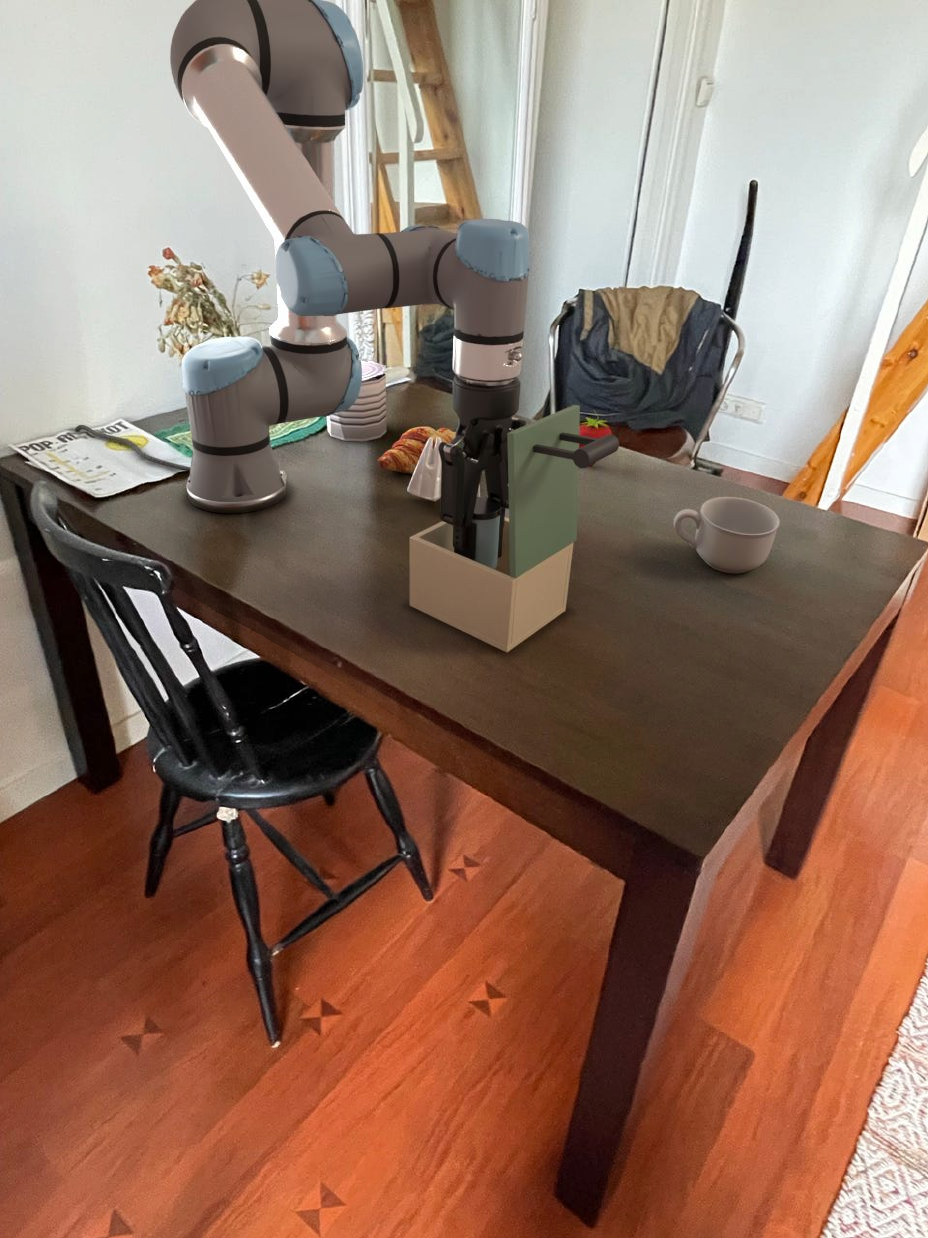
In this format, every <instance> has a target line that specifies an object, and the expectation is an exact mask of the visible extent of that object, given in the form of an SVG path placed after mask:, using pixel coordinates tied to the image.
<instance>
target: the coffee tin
mask: <svg viewBox="0 0 928 1238" xmlns="http://www.w3.org/2000/svg"><path fill="white" fill-rule="evenodd" d="M500 514H501V504H500V503H499V502H498V501H497V500H494V499H492V498H488V496H487V497H486V496H480V497H477V499H476V504H475V509H474V514H473V519H472V523H474V524H477V527H476V548H475V562H478V563H480V564H483V565H485V566H487V567H490V568H492V569H495V568H496V566H497V559H498V542H499V525H500Z"/></svg>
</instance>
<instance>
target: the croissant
mask: <svg viewBox="0 0 928 1238" xmlns="http://www.w3.org/2000/svg"><path fill="white" fill-rule="evenodd" d="M455 433H456V431H452V430H451V429H449V428H447V427H440V428H439V429H437V430H436V429H434V428H432V427H430V426H417V427H412V428H410V429H408V430H406V431H405V432H404V433H402V435H401V436H400V438H399V440H397V441H395V442H394V443H393V445H392V447H391V449H388V450H387V451H385V452H384V453H383V454H382V455H381V457H379V458H378V459H377V463H378V466H379V467H380V468H381V469H384V470H387V471H390V472H398V473H403V474H412V475H413V474H414V471H415V469H416V466H417V464H418V461H419V459H420V457H421V454H422V452H423V449H424V447H425V445H426V443H427V441H428V439H429V438H430V437H432V438H433V446H432V448H433V449H434V447H435V443H436V438H437V437H440V438H441V442H446V443H449V442H450V441H452V440H453V439H454V438H455V437H456V435H455Z"/></svg>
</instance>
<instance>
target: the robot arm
mask: <svg viewBox="0 0 928 1238" xmlns="http://www.w3.org/2000/svg"><path fill="white" fill-rule="evenodd" d="M169 53H170V54H169V55H170V56H169V57H170V58H169V59H170V70H171V75H172V79H173V84H174V86H175V88H176V91H177V94H178V95H179V98H180V99H181V101H182V103H183V105H184V106H185V108H186V110H187V111H188V113H189V115H191V116H192V118H193V119H194V120H196V121H197V122H198V123H199V124H200V125H203V126H204V127H207V129H209V131H210V133H211V134H212V136H213V138H214V140H215V141H216V143H217V144H218V147H219V148H220V150H221V151H222V153H223V155H224V156H225V158H226V160H227V161H228V164H229V165H230V166H231V168H232V170H233V172H234V173H235V175H236V177H237V178H238V180H239V182H240V183H241V185H242V187H243V189H244V190H245V192H246V193H247V195H248V197H249V199H250V200H251V202H252V203H253V205H254V207H255V209H256V210H257V212H258V213H259V216H260V217H261V219H262V220H263V222H264V224H265V226H266V228H267V229H268V231H269V232H270V234H271V235H272V237H273V239H274V251H275V252H274V253H275V256H274V257H275V258H274V275H275V281H276V289H277V304H278V305H277V307H278V318H277V320H276V321H275V322H274V323H273V324H272V325H270V327H269V344H268V345H263V346H262V345H261V342H260V341H259V340H258V339H256V338H255V337H250V336H243V335H242V336H241V335H239V336H235V337H232V336H223V337H219V338H214V339H210V340H206V341H204V342H201V343H199V344H196V345H195V346H193V347H191V348H190V349H189V350H188V351H186V352H185V354H184V355H183V357H182V360H181V373H182V374H181V375H182V386H181V387H182V390H183V392H184V397H185V404H186V409H187V418H188V423H189V430H190V436H191V444H192V455H191V462H190V466H187V465H182V464H178V463H176V462H175V463H174V462H171V461H168V460H163V459H160V458H157V457H155V456H152V455H150V454H147V453H145V452H144V451H142V449H141V448H140V447H139V446H138V445H137V444H136V443H135V442H133V441H131V440H128V439H126V438H123V437H119V436H115V435H112V434H111V435H110V434H106V433H101V432H98V431H96V430H94V429H92V428H91V427H89V426H87V425H85V424H78V425H77V426H76V427H75V428H74V432H80V431H81V430H83V431H85V432H87V433H89V434H91V435H92V436H94V437H97V438H100V439H104V440H109V441H114V442H117V443H121V444H124V445H127V446H129V447H130V448H132V449H133V450H134V451H135V452H136V453H137V454H138V455H139V456H140V457H141V458H143V459H145V460H147V461H149V462H152V463H155V464H157V465H160V466H165V467H169V468H171V469H176V470H179V471H184V472H189V476H188V478H187V481H186V491H187V498H188V501H189V502H190V504H192V505H193V506H195V507H197V508H199V509H201V510H204V511H208V512H212V513H220V514H240V513H249V512H250V513H251V512H256V511H259V510H263V509H266V508H269V507H271V506H274V505H275V504H277V503H279V502H280V501H282V499H283V498H284V497H285V496H286V494H287V478H288V477H287V476H288V474H287V473H286V470H285V468H284V467H283V469H282V470H281V469H280V465H279V462H278V459H277V457H276V455H275V453H274V450H273V447H272V443H271V435H270V427H271V426H274V425H279V424H280V425H281V424H285V423H291V422H297V421H304V420H309V419H315V418H327V416H330V415H332V414H335V413H339V412H343V411H346V410H347V409H349V408H350V407H351V406H352V405H353V404H354V403H355V401H356V399H357V397H358V395H359V392H360V388H361V383H362V365H361V360H360V351H359V349H358V347H357V345H356V344H355V342H354V341H353V340H352V339H351V338H350V337H348V336H347V335H348V333H347V329H346V328H345V327H344V326H343V324H341V323H340V322H339V321H338V319H337V317H338V316H337V315H345V314H351V313H358V312H367V311H374V310H383V309H385V310H387V309H394V308H395V309H396V308H403V307H413V306H414V307H415V306H422V305H432V304H433V305H438V306H442V307H444V308H447V309H450V310H452V311H454V326H453V345H452V346H453V347H452V348H453V349H452V371H453V373H454V374H455V376H454V377H453V379H452V390H451V391H452V394H451V396H452V397H451V398H452V399H451V407H452V409H453V411H454V412H455V413H456V415H457V418H458V422H457V426H456V429H455V435H456V437H455V438H454V439H453V440H452V441H450V442H449V443H446V442H441V443H440V444H439V447H438V450H439V454H440V458H441V462H442V465H441V498H440V507H439V509H440V510H439V511H440V513H439V519H440V522H442V521H443V522H446V523H448V524H451V525H453V547H454V553H457V554H459V555H461V556H464V557H466V558H468V559H471V560H473V561H475V548H476V527H477V524H474V523H472V519H473V514H474V509H475V504H476V499H477V494H478V489H479V484H481V479H482V474H483V471H484V478H485V487H486V494H487V498H492V499H494V500H497V501H498V502H499V503H500V504H501V514H500V525H499V542H498V558H500V557H501V555H502V540H503V528H504V524H505V509H506V508H507V509H509V486H508V433H509V432H511V431H513V430H516V429H518V428H521V427H523V426H525V425H527V421H526V420H524V419H521V418H518V417H515V415H516V414H517V413H518V411H519V408H520V397H521V396H520V395H521V381H520V379H519V378H518V377H519V376H520V375H521V373H522V360H523V345H524V343H523V342H524V334H525V324H526V323H525V322H526V312H527V311H526V310H527V300H528V286H529V277H530V272H531V265H530V232H529V229H528V228H527V227H526V225H524V224H523V223H521V222H519V221H514V220H503V219H500V218H499V219H498V218H473V219H467V220H463V221H462V222H461V223H460V224H459V225H458V227H457V231H456V233H455V232H452V231H448V230H445V229H444V228H440V227H439V226H434V225H426V226H425V225H421V224H419V225H418V224H415V225H410V226H407V227H405V228H404V229H402V230H401V231H394V232H381V233H380V232H377V233H376V232H374V233H360V234H359V233H354V232H353V230H352V229H351V226H349V224H348V223H347V221H346V219H344V217H343V216H342V215H343V214H341V212H340V210H339V209H338V207H337V206H336V176H335V174H336V173H335V171H336V167H335V164H336V163H335V140H336V138H337V137H338V136H339V135H340V134H341V133H342V132H343V131H344V129H345V128H346V111H350V110H351V109H352V108H354V107H356V105H358V103H359V102H360V99H361V93H362V92H363V87H364V62H363V61H364V60H363V56H362V55H363V54H362V49H361V45H360V41H359V38H358V35H357V32H356V29H355V28H354V27H353V25H352V22H351V19H350V18H349V16H348V15H347V13H345V11H344V10H343V9H342V8H341V7H340V6H339V5H337V4H335V3H334V2H331V1H327V0H194V1H193V2H192V3H191V4H190V5H189V6H188V8H187V9H185V11H184V12H183V13H182V14H181V16H180V18H179V20H178V22H177V24H176V27H175V29H174V31H173V35H172V38H171V43H170V52H169ZM472 459H474V460H477V461H474V460H472Z"/></svg>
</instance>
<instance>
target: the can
mask: <svg viewBox="0 0 928 1238" xmlns="http://www.w3.org/2000/svg"><path fill="white" fill-rule="evenodd" d="M360 361H361V360H360ZM361 365H362V383H361V388H360V392H359V395H358V397H357V399H356V401H355V403H354V404H353V405H352V406H351V407H350V408H349V409H347V410H346V411H343V412H339V413H335V414H332V415H330V416H327V417H326V429H327V432H328V433H329V436H330V438H331V437H332V438H334V439H338V440H340V441H344V442H367V441H372V440H377V439H380V438H382V437H383V435H385V434H386V433H387V390H386V389H387V383H386V382H387V379H386V377H387V375H386V373H385V370H386V368H387V365H385V364H382V363H379V362H376V361H373V360H366V361H365V360H364V361H361Z"/></svg>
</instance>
